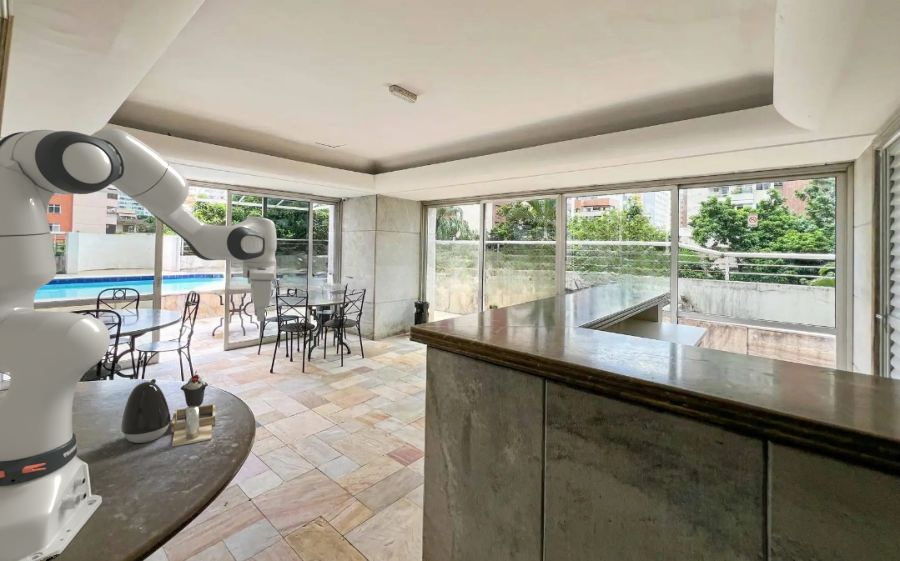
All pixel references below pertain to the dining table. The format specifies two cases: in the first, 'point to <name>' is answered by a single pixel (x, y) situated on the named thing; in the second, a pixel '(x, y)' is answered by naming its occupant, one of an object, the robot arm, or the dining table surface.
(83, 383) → the dining table surface
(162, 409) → the pump dispenser
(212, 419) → the wooden frame tray
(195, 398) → the sundae
